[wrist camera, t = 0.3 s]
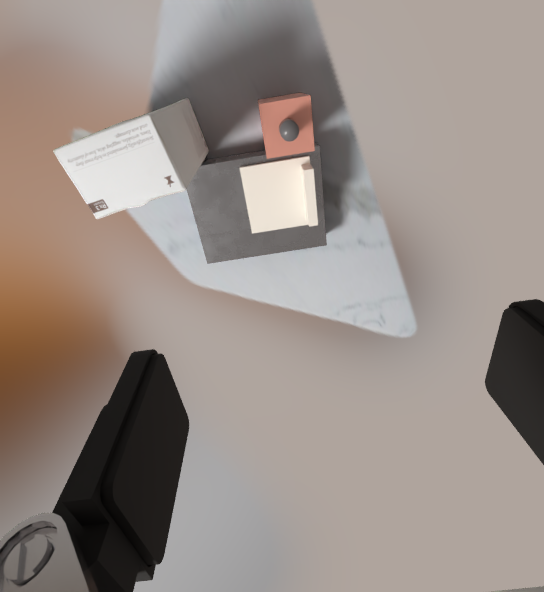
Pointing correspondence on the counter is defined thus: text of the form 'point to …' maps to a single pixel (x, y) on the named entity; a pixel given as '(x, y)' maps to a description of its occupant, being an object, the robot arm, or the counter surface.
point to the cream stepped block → (280, 194)
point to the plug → (287, 124)
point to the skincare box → (136, 159)
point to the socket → (245, 210)
